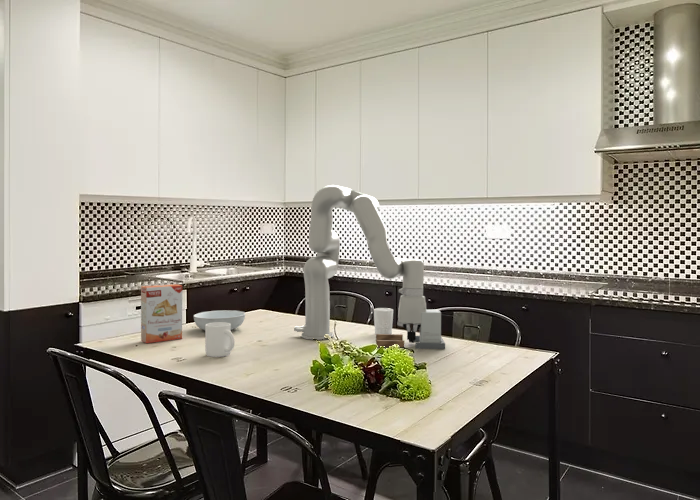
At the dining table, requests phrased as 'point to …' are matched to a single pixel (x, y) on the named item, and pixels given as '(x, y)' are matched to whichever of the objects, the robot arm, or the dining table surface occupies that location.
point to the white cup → (383, 320)
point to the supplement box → (430, 326)
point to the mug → (218, 339)
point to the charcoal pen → (428, 344)
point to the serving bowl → (219, 318)
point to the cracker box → (161, 313)
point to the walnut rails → (389, 340)
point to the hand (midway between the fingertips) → (411, 341)
